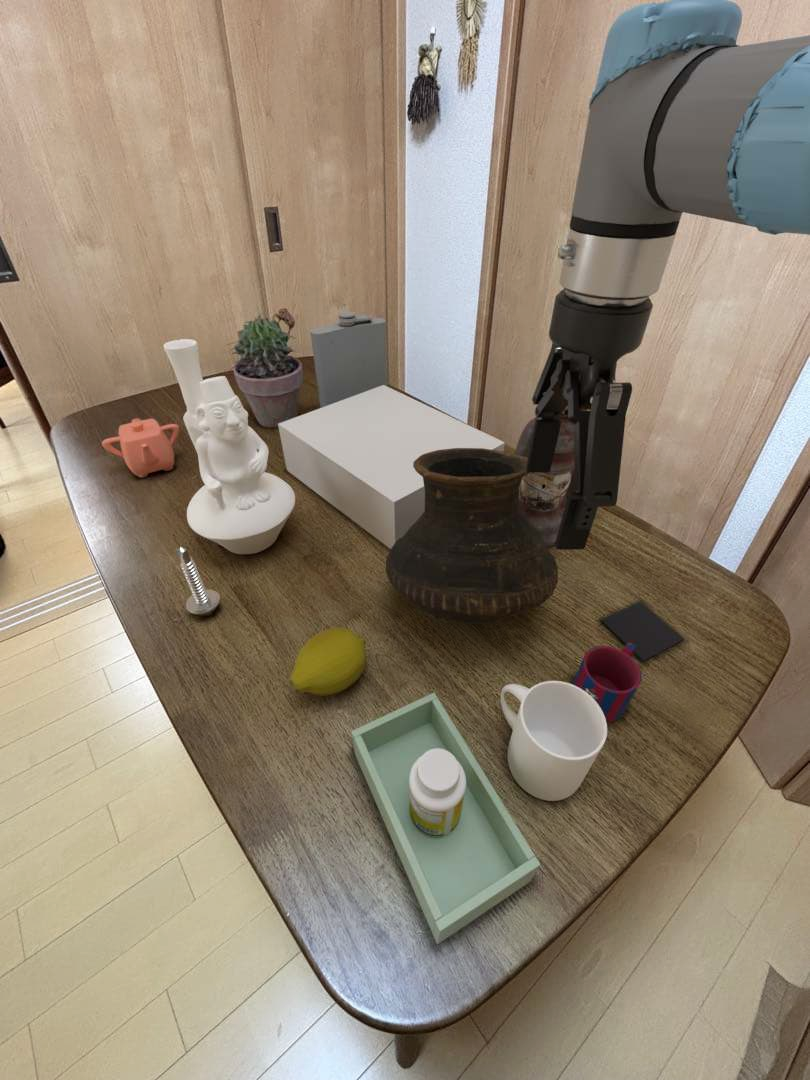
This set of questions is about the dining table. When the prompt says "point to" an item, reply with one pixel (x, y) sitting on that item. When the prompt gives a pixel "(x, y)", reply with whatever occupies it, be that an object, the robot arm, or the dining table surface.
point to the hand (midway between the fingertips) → (552, 505)
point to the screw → (197, 588)
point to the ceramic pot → (472, 541)
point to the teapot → (144, 446)
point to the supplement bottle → (436, 792)
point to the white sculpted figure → (228, 462)
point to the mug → (553, 737)
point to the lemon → (329, 662)
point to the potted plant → (268, 370)
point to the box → (373, 456)
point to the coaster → (642, 630)
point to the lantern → (538, 504)
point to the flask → (349, 357)
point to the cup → (609, 678)
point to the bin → (475, 843)
